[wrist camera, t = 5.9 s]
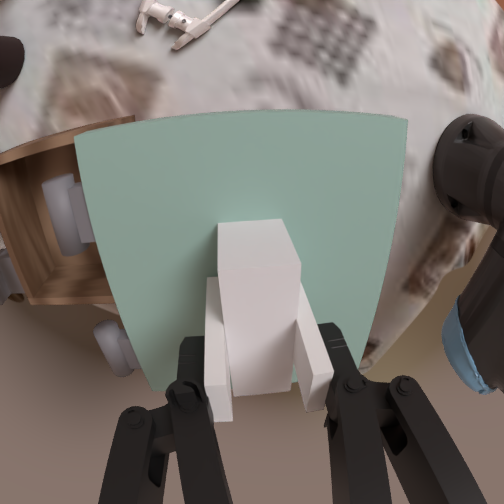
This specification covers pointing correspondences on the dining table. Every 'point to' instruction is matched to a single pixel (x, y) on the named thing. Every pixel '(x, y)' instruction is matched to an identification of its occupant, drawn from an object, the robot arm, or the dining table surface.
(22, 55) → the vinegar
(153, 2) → the door handle
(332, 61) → the dining table surface
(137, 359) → the door
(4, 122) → the dining table surface
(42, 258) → the cabinet
